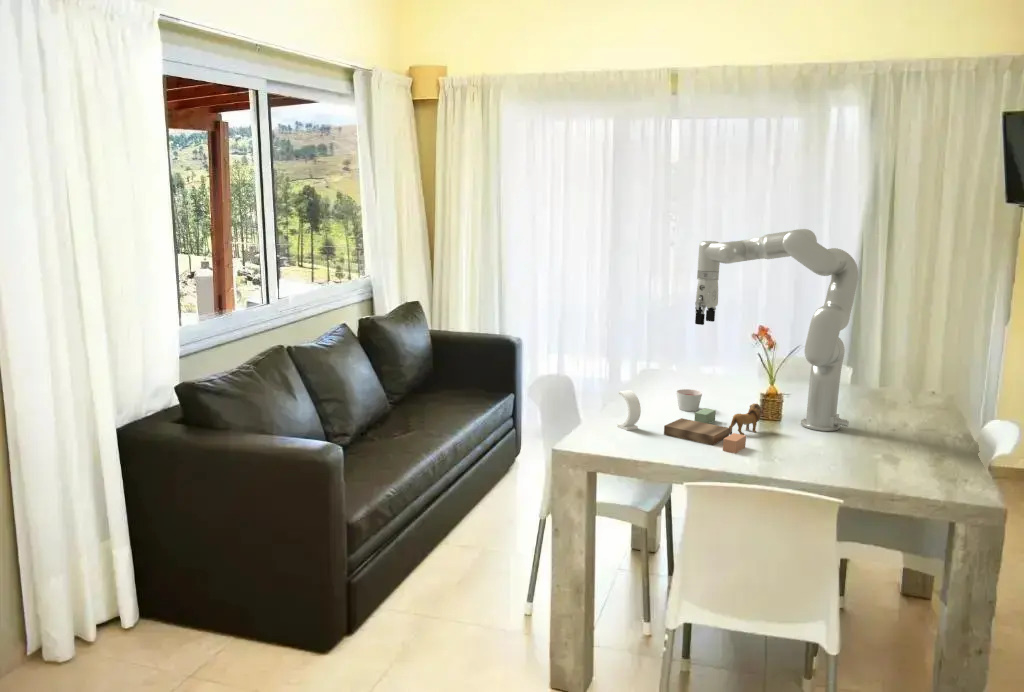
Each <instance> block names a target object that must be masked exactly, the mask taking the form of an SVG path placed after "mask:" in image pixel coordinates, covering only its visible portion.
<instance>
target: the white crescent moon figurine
mask: <svg viewBox="0 0 1024 692" xmlns="http://www.w3.org/2000/svg"><path fill="white" fill-rule="evenodd" d="M618 395H619V396H621V397H622V398H623V399H624V400H625V402H626V405H627V411H628V414H627V417H626V418H627V419H626V420H625V422H621V423H617V427H618V428H619V429H623V430H625V431H631V430H637V429H638V428H639V426H638V425H636V424H637V423H638V422H639V420H640V417H641V413H642V412H641V411H642V410H641V402H640V399H639V397H638V396H637V395H636V393H635V392H634V391H632V390H630V389H628V390H620V391H618Z"/></svg>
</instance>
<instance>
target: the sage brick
mask: <svg viewBox="0 0 1024 692" xmlns="http://www.w3.org/2000/svg"><path fill="white" fill-rule="evenodd" d="M716 411H717V410H716V409H713V408H712V409H710V408H707V407H704V408H703V409H700V410H697V411H694V420H693V421H698V422H703V423H707V424H712V423H713V422H715V421H716Z"/></svg>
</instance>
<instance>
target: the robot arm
mask: <svg viewBox="0 0 1024 692" xmlns="http://www.w3.org/2000/svg"><path fill="white" fill-rule="evenodd" d="M786 257H787V258H788V257H791V258H793V260H795V261H797V262H799V264H800V265H802V266H804V267H805V268H807V269H808V270H810V271H811V272H813V273H815V275H817V276H821V277H828V276H830V277H831V279H830V283H829V285H828V288H827V292H826V297H825V299H824V300H825V301H824V303H823V305H822V306H820V307H819V308H818V309H816V310H815V312H814V313H813V315H812V317H811V320H810V324H809V327H808V332H807V337H806V342H805V345H804V357H805V359H806V361H807V362H808V363H809V364H810V365H811V367H810V368H811V369H810V374H809V382H808V384H809V385H808V392H807V393H808V395H807V405H806V406H807V407H806V415H805V416H806V417H805V418H803V419H801V421H800V425H801V426H802V427H804V428H807V429H810V430H814V431H821V432H835V431H839V430H840V429H841V426H842V427H849V424H850V421H849V420H848V419H844V418H841V417H840V414H839V413H837V412H838V405H839V404H838V402H839V395H840V394H839V392H840V383H841V376H842V375H841V374H842V373H841V372H842V367H843V362H844V358H845V351H846V350H845V344H844V342H843V340H842V339H841V337H840V332H841V331H842V330H844V329H846V328H847V326H848V325H849V322H850V319H851V318H850V317H851V314H852V309H853V304H854V301H855V296H856V292H857V287H858V284H859V283H858V282H859V267H858V264H857V262H856V261H855V259H854V258H853V256H852V255H851V254H849V253H848V252H847V251H846V250H843V249H840V248H836V247H831V248H826V247H825V246H823V245H822V244H820V243H818V238H817V235H816V234H815V232H814V231H812V230H810V229H809V228H808V229H807V228H798V229H797V228H796V229H793V230H792V229H791V230H787V231H781V232H775V233H767V234H764V235H763V236H760V237H757V238H750V239H743V240H742V239H741V240H736V241H735V240H734V241H723V242H719V241H716V240H702V241H701V242H700V243H699V245H698V261H697V272H696V273H697V275H696V280H698V281H697V287H696V297H695V311H694V312H695V316H694V317H695V318H694V319H695V320H694V323H695V325H700V326H704V325H705V321H707V322H715V317H716V309H717V308H716V307H717V306H718V305H719V275H720V266H721V265H720V263H721V264H726V265H727V264H733V263H740V262H749V261H754V260H755V261H756V260H763V259H764V260H774V259H780V258H786Z"/></svg>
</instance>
